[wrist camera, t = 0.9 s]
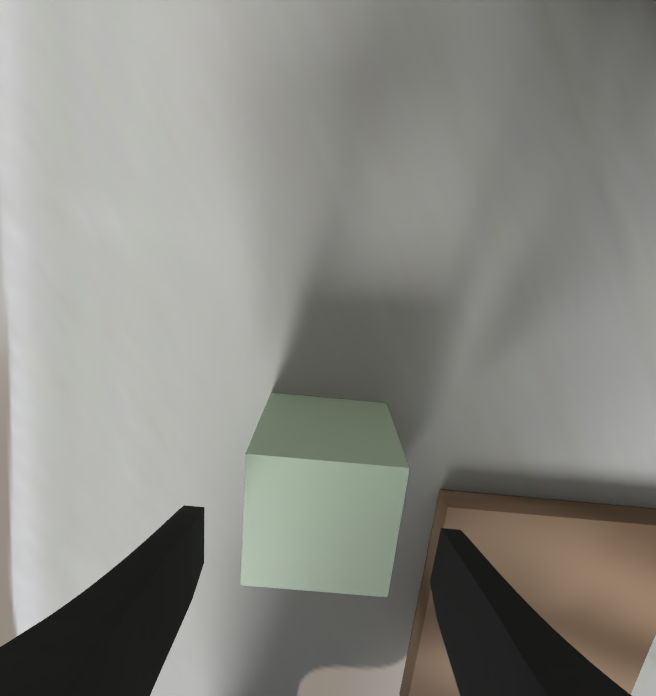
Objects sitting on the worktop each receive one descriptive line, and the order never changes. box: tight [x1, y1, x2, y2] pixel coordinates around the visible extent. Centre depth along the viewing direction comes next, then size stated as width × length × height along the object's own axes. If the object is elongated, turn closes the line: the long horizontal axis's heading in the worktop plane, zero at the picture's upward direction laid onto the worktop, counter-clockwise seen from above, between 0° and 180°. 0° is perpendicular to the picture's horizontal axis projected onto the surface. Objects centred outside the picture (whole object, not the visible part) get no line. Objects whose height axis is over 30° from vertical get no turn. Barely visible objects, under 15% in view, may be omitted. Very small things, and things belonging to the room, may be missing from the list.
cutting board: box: [400, 490, 656, 696], centre depth 18 cm, size 13×11×1 cm
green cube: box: [241, 393, 410, 597], centre depth 14 cm, size 5×5×5 cm
